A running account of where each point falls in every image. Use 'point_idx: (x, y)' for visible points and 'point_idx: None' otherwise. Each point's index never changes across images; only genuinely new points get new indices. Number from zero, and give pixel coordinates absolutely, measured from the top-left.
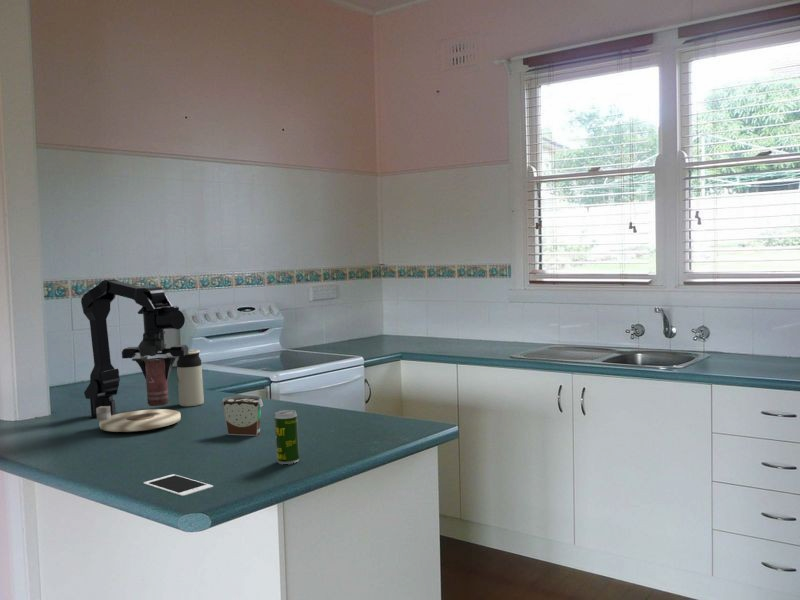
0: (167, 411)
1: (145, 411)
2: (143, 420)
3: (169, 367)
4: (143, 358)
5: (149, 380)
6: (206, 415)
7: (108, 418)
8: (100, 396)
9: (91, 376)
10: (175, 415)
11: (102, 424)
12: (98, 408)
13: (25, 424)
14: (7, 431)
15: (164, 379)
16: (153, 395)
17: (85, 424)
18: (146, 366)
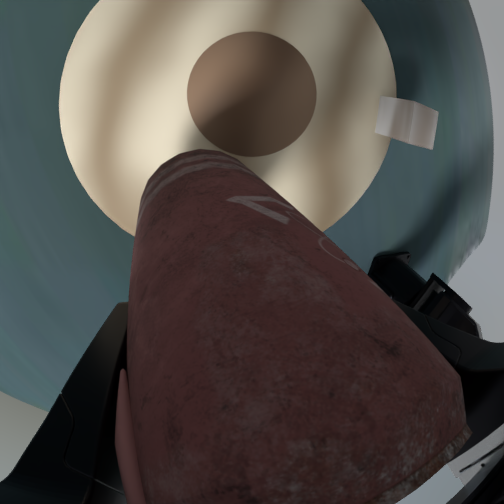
0: None
1: None
2: (218, 21)
3: (50, 416)
4: (482, 432)
5: (294, 212)
6: (46, 272)
7: (379, 109)
8: (424, 290)
9: (476, 322)
10: (78, 117)
11: (372, 18)
12: (433, 110)
13: (477, 211)
14: (492, 160)
15: (131, 280)
16: (217, 162)
17: (414, 182)
18: (429, 342)
